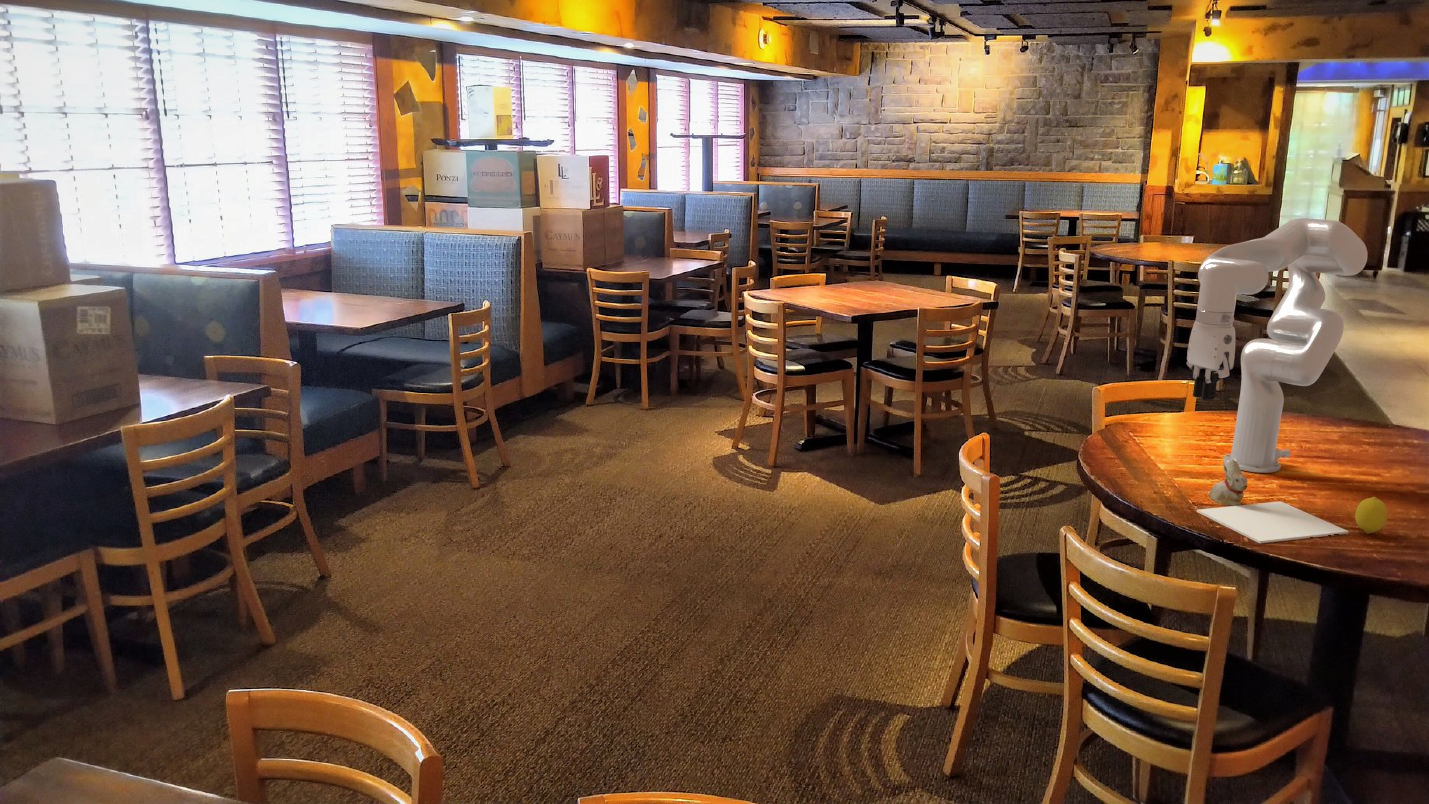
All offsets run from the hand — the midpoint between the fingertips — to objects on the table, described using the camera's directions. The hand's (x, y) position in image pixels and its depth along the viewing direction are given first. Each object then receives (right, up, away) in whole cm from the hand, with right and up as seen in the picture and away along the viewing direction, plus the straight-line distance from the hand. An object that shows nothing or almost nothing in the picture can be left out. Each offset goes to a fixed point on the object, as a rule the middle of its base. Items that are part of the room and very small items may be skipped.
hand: (1203, 397), depth 234 cm
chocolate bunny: (+3, -23, -5) cm, 24 cm away
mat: (+6, -26, -17) cm, 32 cm away
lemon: (+23, -28, -22) cm, 43 cm away
